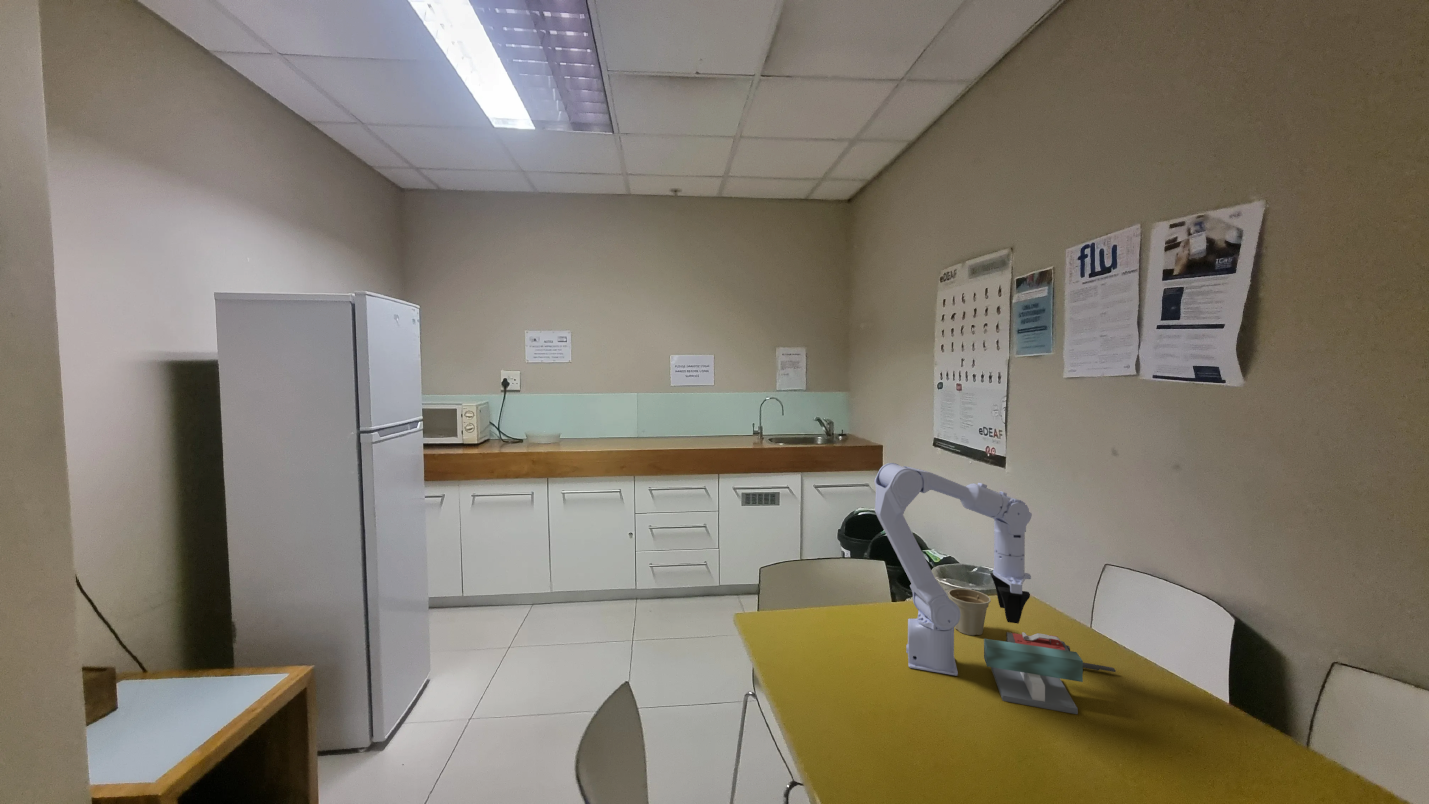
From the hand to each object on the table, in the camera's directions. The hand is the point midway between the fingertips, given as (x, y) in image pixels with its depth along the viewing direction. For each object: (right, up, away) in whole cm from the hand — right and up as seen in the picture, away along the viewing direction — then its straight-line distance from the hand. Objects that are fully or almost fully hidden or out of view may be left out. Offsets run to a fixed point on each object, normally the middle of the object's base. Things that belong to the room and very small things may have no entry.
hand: (1008, 614), depth 108 cm
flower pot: (-1, -11, +15) cm, 19 cm away
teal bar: (-1, -7, -10) cm, 12 cm away
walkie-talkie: (+11, -11, +2) cm, 16 cm away
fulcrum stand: (-1, -11, -10) cm, 15 cm away
